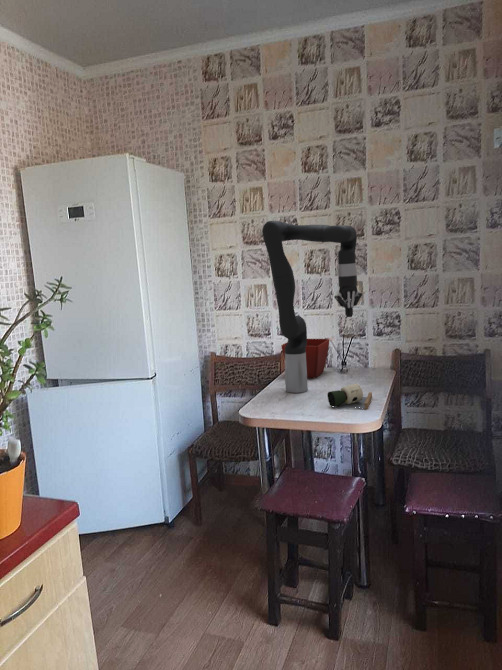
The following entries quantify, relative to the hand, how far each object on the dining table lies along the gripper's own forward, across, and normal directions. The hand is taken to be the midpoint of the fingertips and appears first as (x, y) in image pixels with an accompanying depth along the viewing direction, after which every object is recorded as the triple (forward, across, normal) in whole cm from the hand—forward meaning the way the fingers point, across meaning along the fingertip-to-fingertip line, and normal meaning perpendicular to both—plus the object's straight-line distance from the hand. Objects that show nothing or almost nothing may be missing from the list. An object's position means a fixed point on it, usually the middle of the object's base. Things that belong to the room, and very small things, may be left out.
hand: (349, 316), depth 223 cm
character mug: (+30, -19, -11) cm, 37 cm away
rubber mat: (+33, -8, -11) cm, 36 cm away
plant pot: (+33, +5, +43) cm, 55 cm away
